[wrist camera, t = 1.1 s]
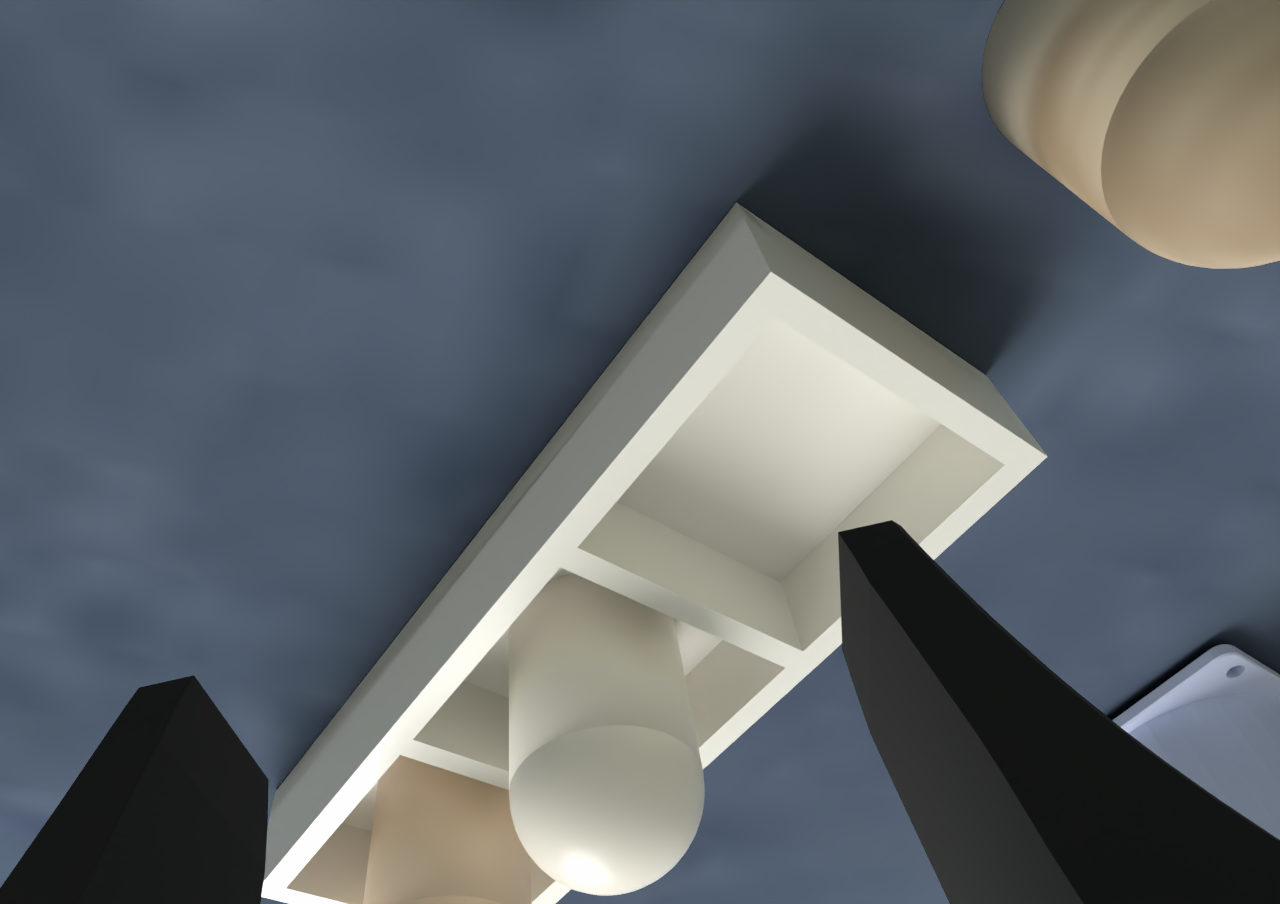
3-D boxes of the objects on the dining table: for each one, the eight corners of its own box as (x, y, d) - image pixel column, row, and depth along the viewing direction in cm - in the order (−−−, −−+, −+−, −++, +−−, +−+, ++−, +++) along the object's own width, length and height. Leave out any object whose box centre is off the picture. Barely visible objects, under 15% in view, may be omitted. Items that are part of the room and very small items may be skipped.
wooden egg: (1247, 18, 18) (1554, 134, 12) (1074, 197, 19) (1281, 364, 14) (1112, -132, 16) (1403, -71, 11) (936, 79, 18) (1114, 219, 12)
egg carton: (986, 376, 21) (1164, 610, 16) (499, 857, 30) (498, 1122, 24) (736, 202, 18) (840, 412, 13) (275, 792, 27) (213, 1077, 21)
